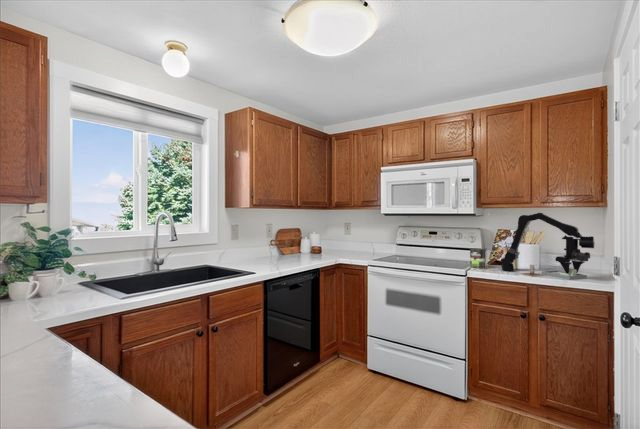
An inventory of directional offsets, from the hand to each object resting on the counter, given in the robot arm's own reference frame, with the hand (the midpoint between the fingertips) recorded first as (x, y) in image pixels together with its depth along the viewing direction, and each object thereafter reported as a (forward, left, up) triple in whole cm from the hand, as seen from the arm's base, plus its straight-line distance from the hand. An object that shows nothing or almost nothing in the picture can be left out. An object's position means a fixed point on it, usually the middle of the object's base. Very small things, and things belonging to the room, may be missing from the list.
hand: (571, 273), depth 195 cm
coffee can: (-48, -25, -4) cm, 54 cm away
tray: (-5, 0, -4) cm, 6 cm away
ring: (-5, 0, -3) cm, 6 cm away
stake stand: (-15, -13, -4) cm, 20 cm away
